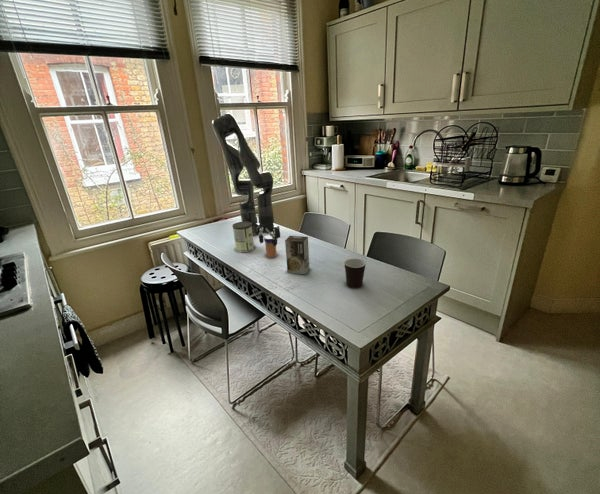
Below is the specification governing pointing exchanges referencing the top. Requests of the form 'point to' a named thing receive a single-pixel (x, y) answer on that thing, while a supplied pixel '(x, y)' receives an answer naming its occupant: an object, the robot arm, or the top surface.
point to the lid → (268, 238)
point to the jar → (270, 249)
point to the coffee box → (297, 254)
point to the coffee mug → (354, 272)
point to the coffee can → (243, 236)
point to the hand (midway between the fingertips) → (268, 244)
